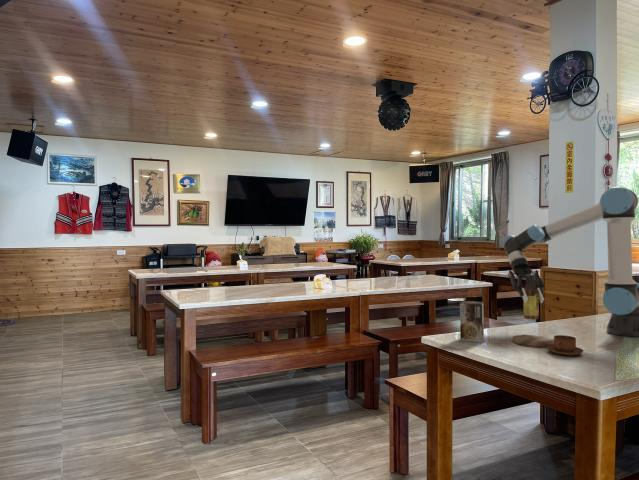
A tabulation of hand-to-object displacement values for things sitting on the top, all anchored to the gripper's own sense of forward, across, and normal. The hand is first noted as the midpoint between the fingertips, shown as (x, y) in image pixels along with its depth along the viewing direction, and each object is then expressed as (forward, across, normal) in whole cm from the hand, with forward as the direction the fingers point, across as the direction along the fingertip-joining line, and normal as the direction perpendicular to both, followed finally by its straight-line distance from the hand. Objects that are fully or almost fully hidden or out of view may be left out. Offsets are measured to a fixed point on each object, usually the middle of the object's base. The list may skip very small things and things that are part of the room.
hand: (534, 301), depth 207 cm
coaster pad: (+21, +7, 0) cm, 22 cm away
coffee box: (+18, +31, -3) cm, 36 cm away
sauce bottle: (+4, 0, -9) cm, 9 cm away
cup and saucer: (+33, +3, +11) cm, 35 cm away
